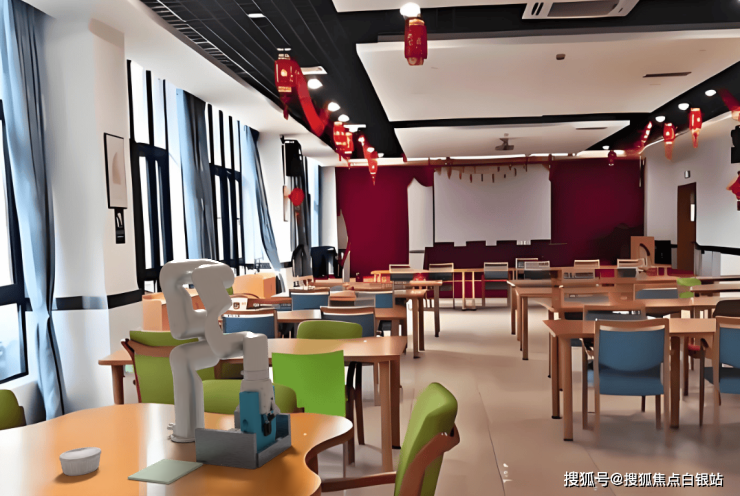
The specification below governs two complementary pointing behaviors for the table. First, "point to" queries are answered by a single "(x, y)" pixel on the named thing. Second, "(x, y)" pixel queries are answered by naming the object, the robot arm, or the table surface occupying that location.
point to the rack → (240, 445)
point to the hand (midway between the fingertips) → (258, 433)
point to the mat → (165, 471)
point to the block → (254, 418)
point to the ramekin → (80, 461)
